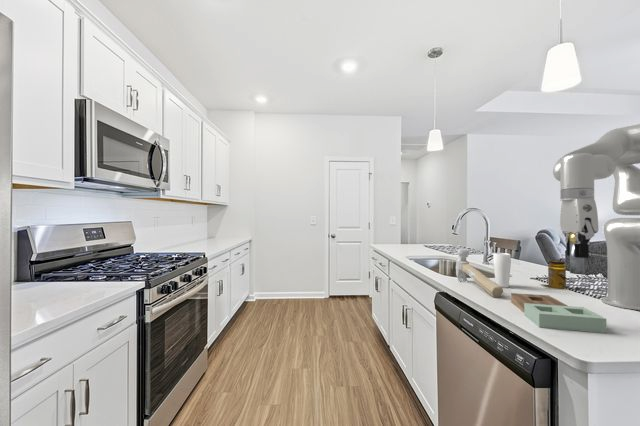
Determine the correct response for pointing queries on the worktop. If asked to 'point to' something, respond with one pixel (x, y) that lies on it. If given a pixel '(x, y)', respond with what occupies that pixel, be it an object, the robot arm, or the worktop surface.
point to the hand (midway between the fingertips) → (577, 256)
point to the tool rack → (565, 317)
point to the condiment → (556, 275)
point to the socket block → (533, 300)
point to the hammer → (475, 275)
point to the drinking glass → (502, 268)
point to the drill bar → (575, 263)
